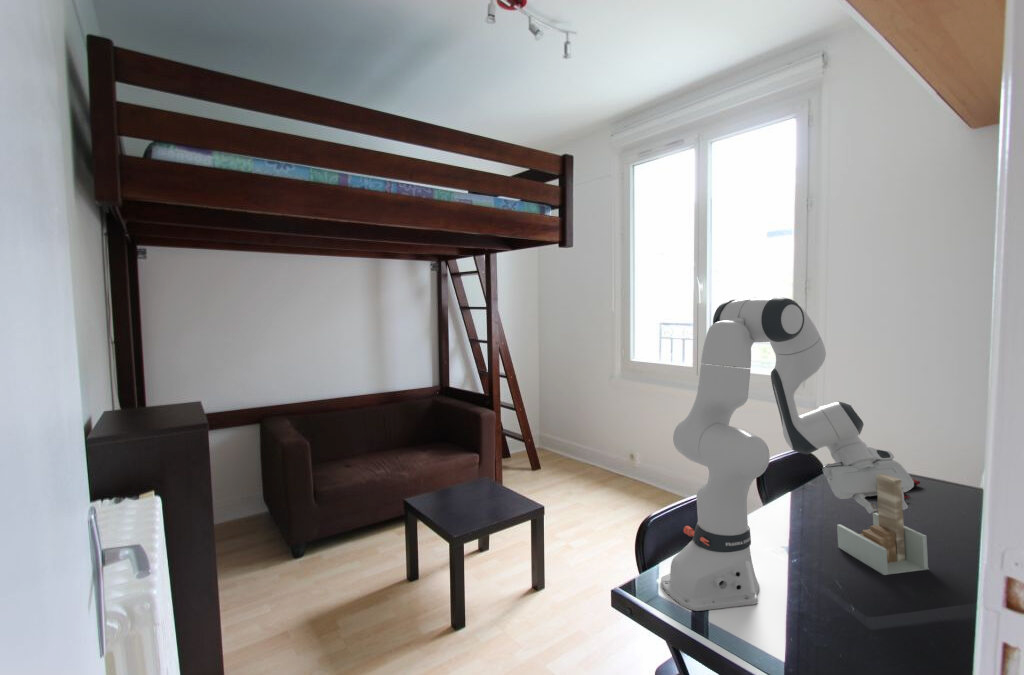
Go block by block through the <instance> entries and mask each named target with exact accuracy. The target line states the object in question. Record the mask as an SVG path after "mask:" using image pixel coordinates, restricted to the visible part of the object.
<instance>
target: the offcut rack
mask: <svg viewBox="0 0 1024 675" xmlns="http://www.w3.org/2000/svg"><path fill="white" fill-rule="evenodd" d="M873 525H879V517H878V512H876V513H872V526H873ZM836 531H837V532H836V533H837V548H838V549H840V550H842V551H843V552H845V553H847V554H849V555H850V556H852V557H853V558H855V559H857V560H859V561H860V562H862V563H863V564H865V565H866V566H868V567H869V568H872V569H873V570H875V571H876V572H878V573H880V574H881V575H884V576H887V575H894V574H901V573H911V572H918V571H927V570H929V562H928V544H927V541H928V540H927V535H926V534H923V533H922V532H920V531H918V530H915V529H913V528H911V527H908V526H906V525H904V544H905V561H896V562H890V563H887V549H886V548H884V547H882V546H880V545H878V544H876V543H874V542H872V541H871V540H869V539H867V538H865V537H863V536H861V535H859V534H860V533H857V532H856V531H854V530H852V529H850V528H849V527H846V526H844V525H843V524H840V523H839V524H836Z"/></svg>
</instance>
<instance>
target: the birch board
mask: <svg viewBox="0 0 1024 675" xmlns="http://www.w3.org/2000/svg"><path fill="white" fill-rule="evenodd" d="M876 479H877V496H876V498H877V509H878V511H877V513H878V517H879V526H881V527H883V528H885V529H887V530H889V531H891V532H893V533H895V546H896V561H905V544H904V526H905V525H904V510H903V505H902V485H901V480H900V479H897V478H894V477H892V476H889V475H886V474H876Z"/></svg>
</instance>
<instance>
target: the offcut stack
mask: <svg viewBox="0 0 1024 675" xmlns="http://www.w3.org/2000/svg"><path fill="white" fill-rule="evenodd" d="M861 532H862V533H858V534H859V535H861V536H863V537H865V538H867V539H869V540H871V541H872V542H874V543H876V544H878V545H880V546H882V547H884V548H886V549H887V563H890V562H896V546H895V533H893V532H891V531H889V530H887V529H885V528H883V527H881V526H879V525H873V524H872V525H870V528H869V529H861Z"/></svg>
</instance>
